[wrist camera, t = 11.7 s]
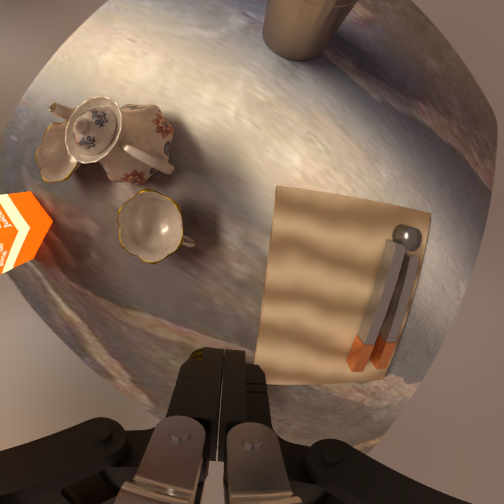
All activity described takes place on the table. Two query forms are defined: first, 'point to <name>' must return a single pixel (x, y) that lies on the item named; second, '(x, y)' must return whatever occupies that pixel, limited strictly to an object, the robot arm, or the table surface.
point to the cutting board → (324, 283)
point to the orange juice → (20, 229)
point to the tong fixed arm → (395, 313)
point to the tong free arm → (382, 293)
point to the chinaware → (120, 166)
